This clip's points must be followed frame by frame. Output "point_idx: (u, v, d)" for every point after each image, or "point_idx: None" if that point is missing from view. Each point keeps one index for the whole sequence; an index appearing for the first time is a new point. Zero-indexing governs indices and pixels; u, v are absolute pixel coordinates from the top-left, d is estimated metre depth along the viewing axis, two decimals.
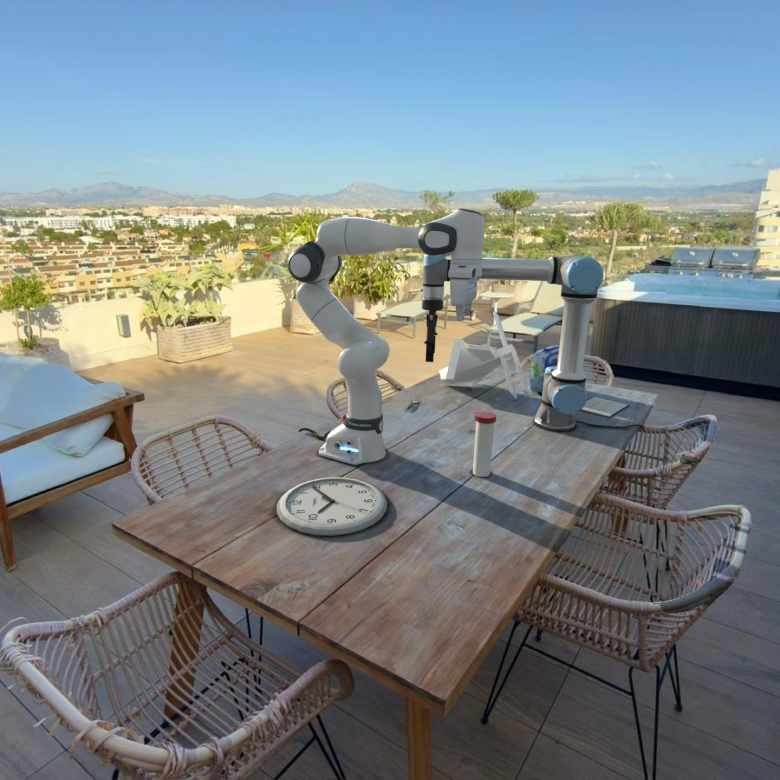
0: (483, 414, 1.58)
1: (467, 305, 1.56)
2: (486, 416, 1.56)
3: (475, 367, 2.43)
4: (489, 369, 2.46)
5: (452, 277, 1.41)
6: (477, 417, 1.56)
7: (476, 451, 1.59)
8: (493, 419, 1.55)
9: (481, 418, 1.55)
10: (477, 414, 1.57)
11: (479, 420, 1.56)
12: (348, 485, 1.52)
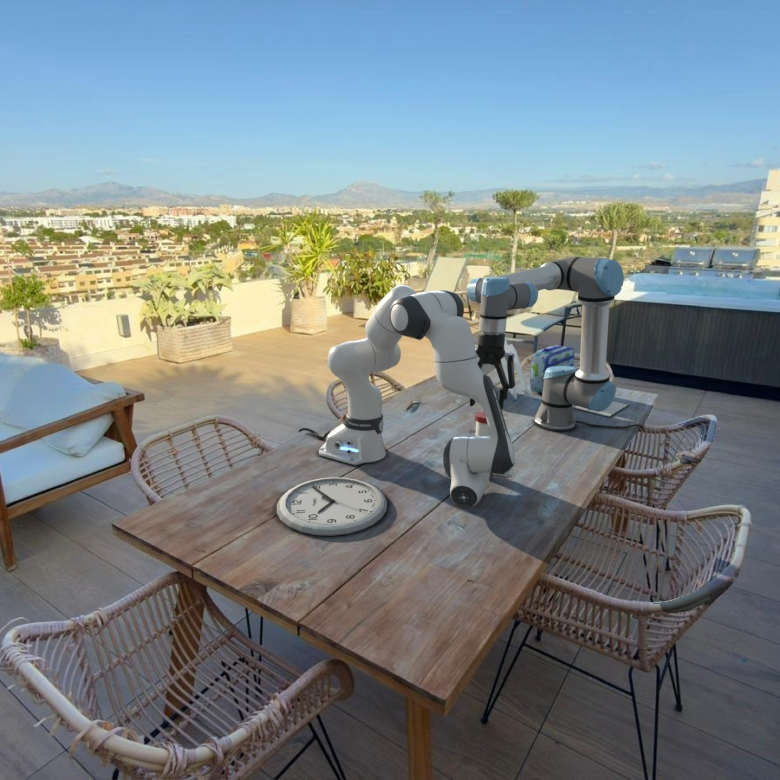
0: (483, 414, 1.58)
1: None
2: None
3: None
4: (489, 369, 2.46)
5: None
6: (477, 417, 1.56)
7: None
8: None
9: (481, 418, 1.55)
10: (477, 414, 1.57)
11: (479, 420, 1.56)
12: (348, 485, 1.52)
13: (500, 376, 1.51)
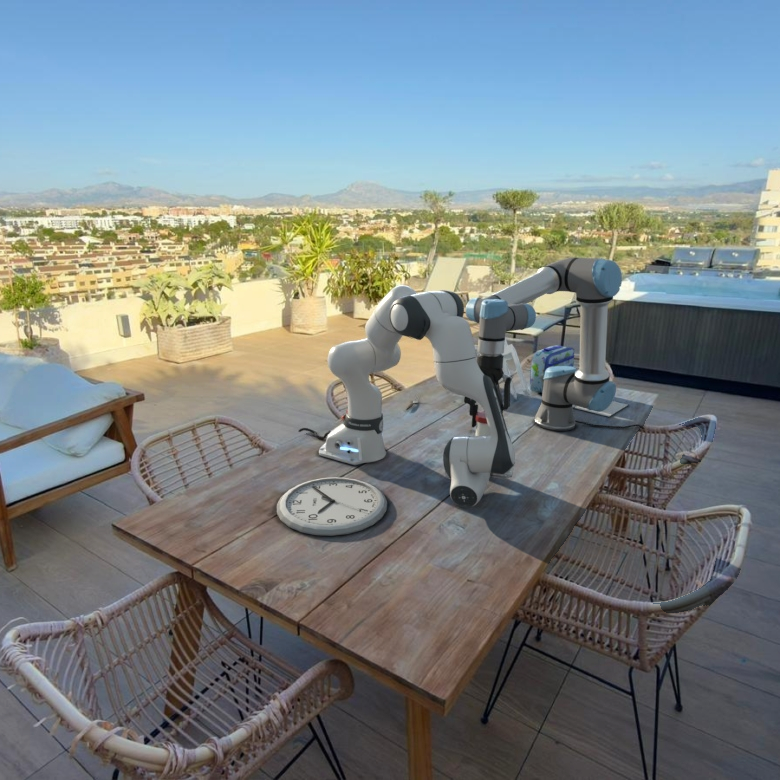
0: (483, 414, 1.58)
1: None
2: None
3: None
4: None
5: None
6: (477, 417, 1.56)
7: None
8: None
9: (481, 418, 1.55)
10: (477, 414, 1.57)
11: (479, 420, 1.56)
12: (348, 485, 1.52)
13: None
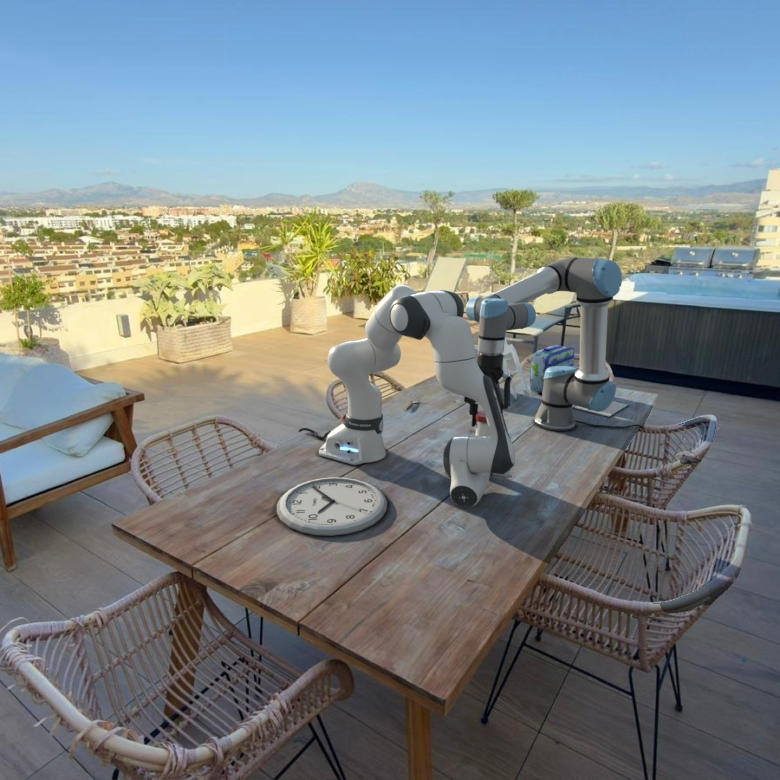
0: (484, 414, 1.57)
1: None
2: None
3: None
4: None
5: None
6: None
7: None
8: None
9: None
10: (484, 416, 1.55)
11: None
12: (348, 485, 1.52)
13: None
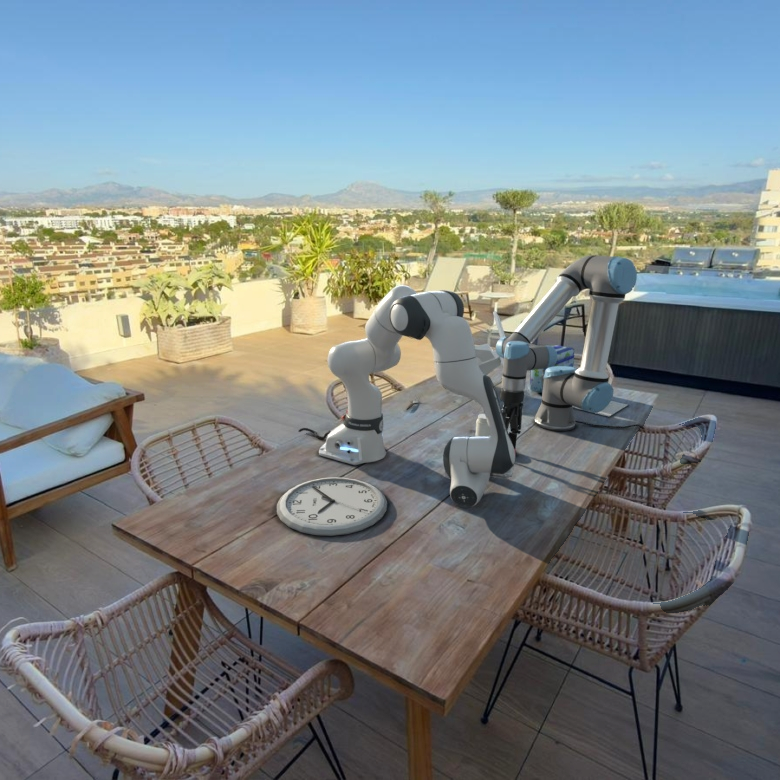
0: None
1: None
2: None
3: None
4: (489, 369, 2.46)
5: None
6: None
7: None
8: None
9: None
10: None
11: None
12: (348, 485, 1.52)
13: (516, 423, 1.76)
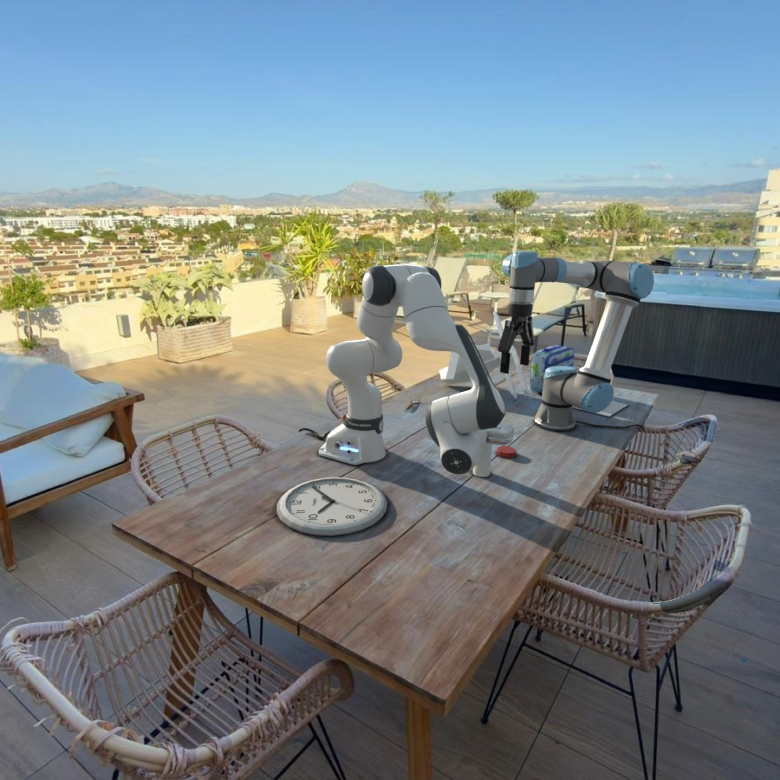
0: (508, 450, 1.76)
1: None
2: (507, 448, 1.78)
3: None
4: (489, 369, 2.46)
5: None
6: None
7: None
8: None
9: None
10: (513, 451, 1.75)
11: None
12: (348, 485, 1.52)
13: (528, 336, 1.69)
